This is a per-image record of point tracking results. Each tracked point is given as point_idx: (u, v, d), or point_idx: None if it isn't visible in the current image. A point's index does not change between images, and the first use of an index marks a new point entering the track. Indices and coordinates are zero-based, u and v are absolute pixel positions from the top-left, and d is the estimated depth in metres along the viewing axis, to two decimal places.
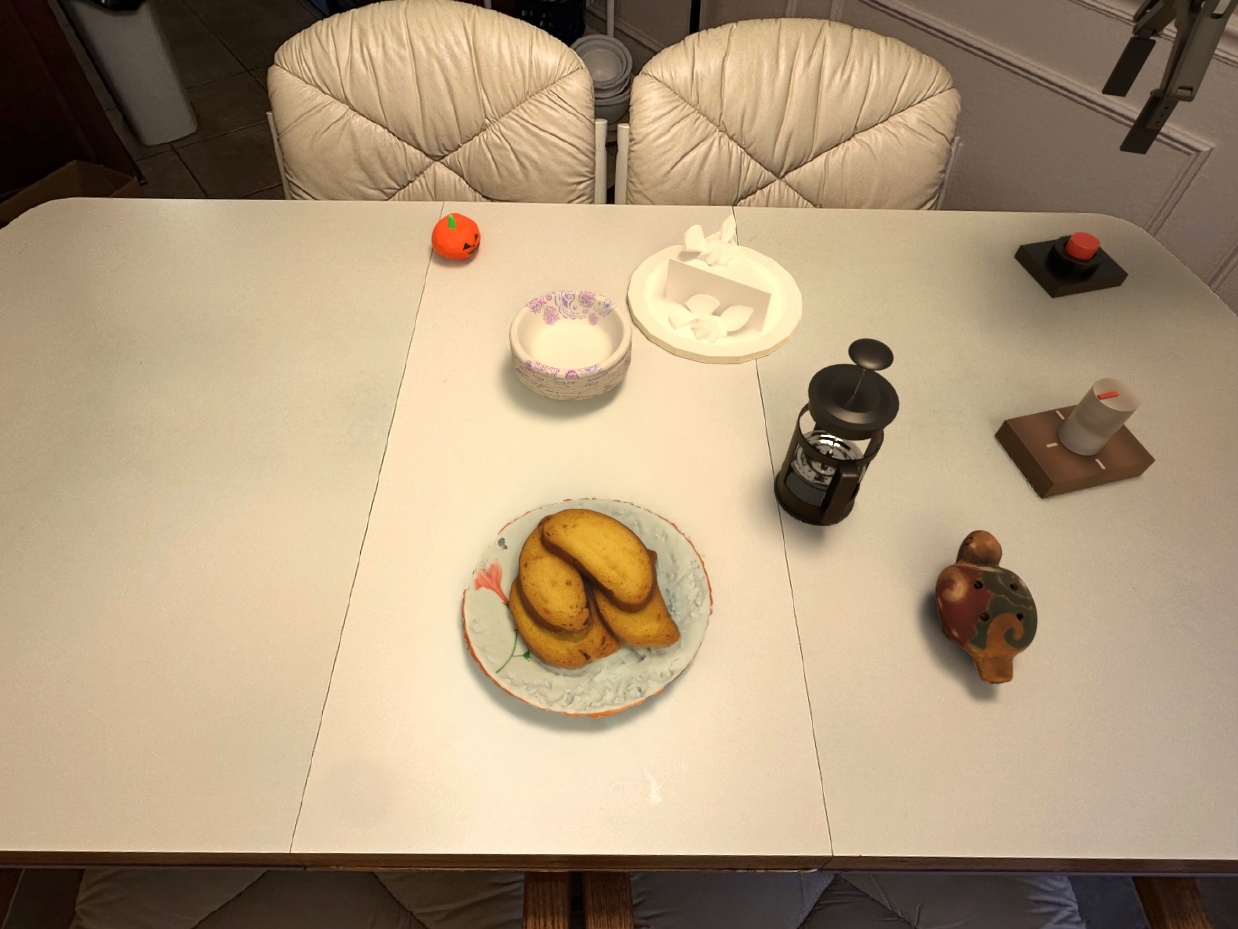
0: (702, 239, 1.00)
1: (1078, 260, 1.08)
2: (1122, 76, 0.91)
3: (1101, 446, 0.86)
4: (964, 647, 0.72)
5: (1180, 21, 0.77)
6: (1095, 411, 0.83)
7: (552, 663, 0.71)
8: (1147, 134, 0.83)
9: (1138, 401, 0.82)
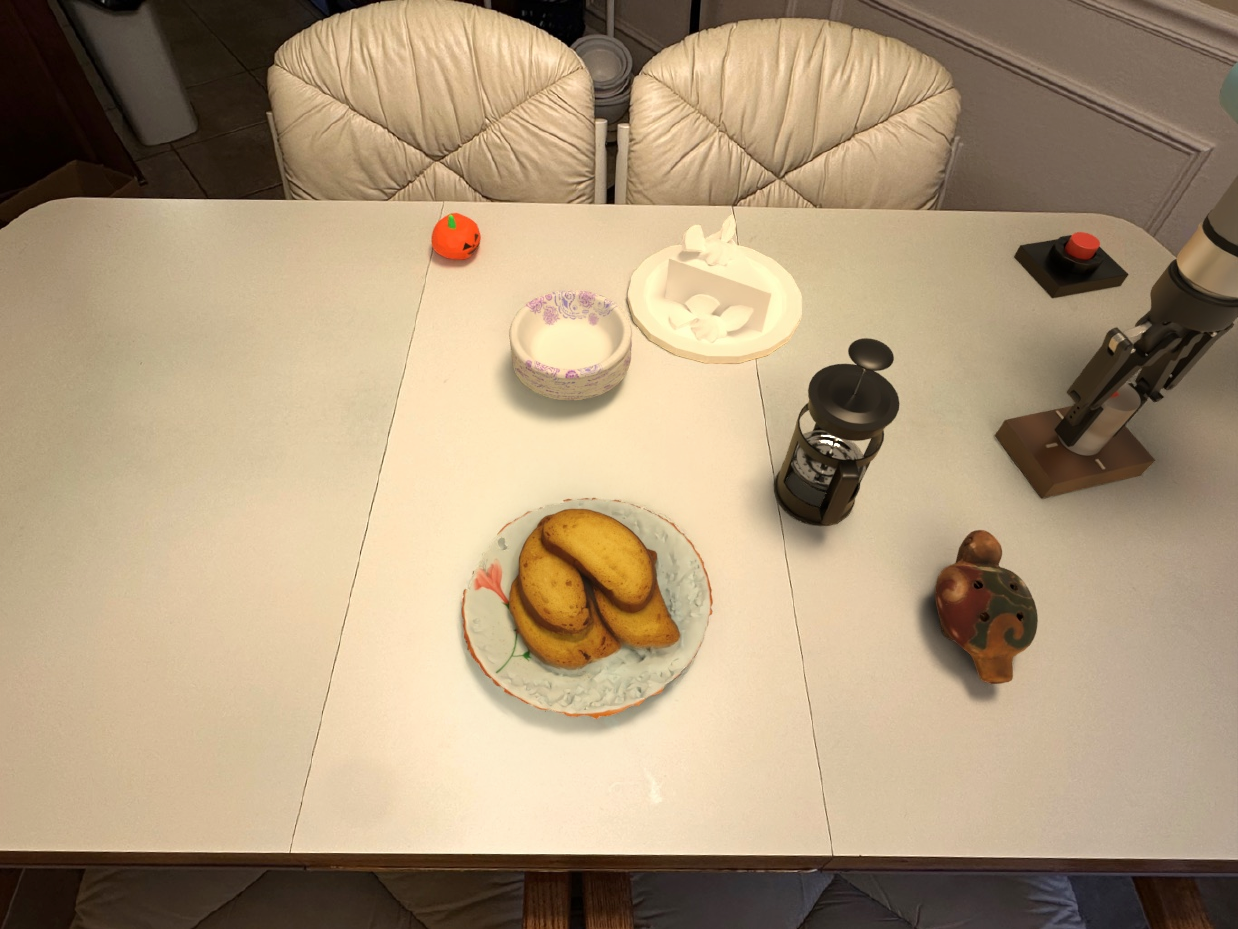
0: (702, 239, 1.00)
1: (1078, 260, 1.08)
2: None
3: (1101, 446, 0.86)
4: (964, 647, 0.72)
5: None
6: None
7: (552, 663, 0.71)
8: (1072, 428, 0.86)
9: (1138, 401, 0.82)
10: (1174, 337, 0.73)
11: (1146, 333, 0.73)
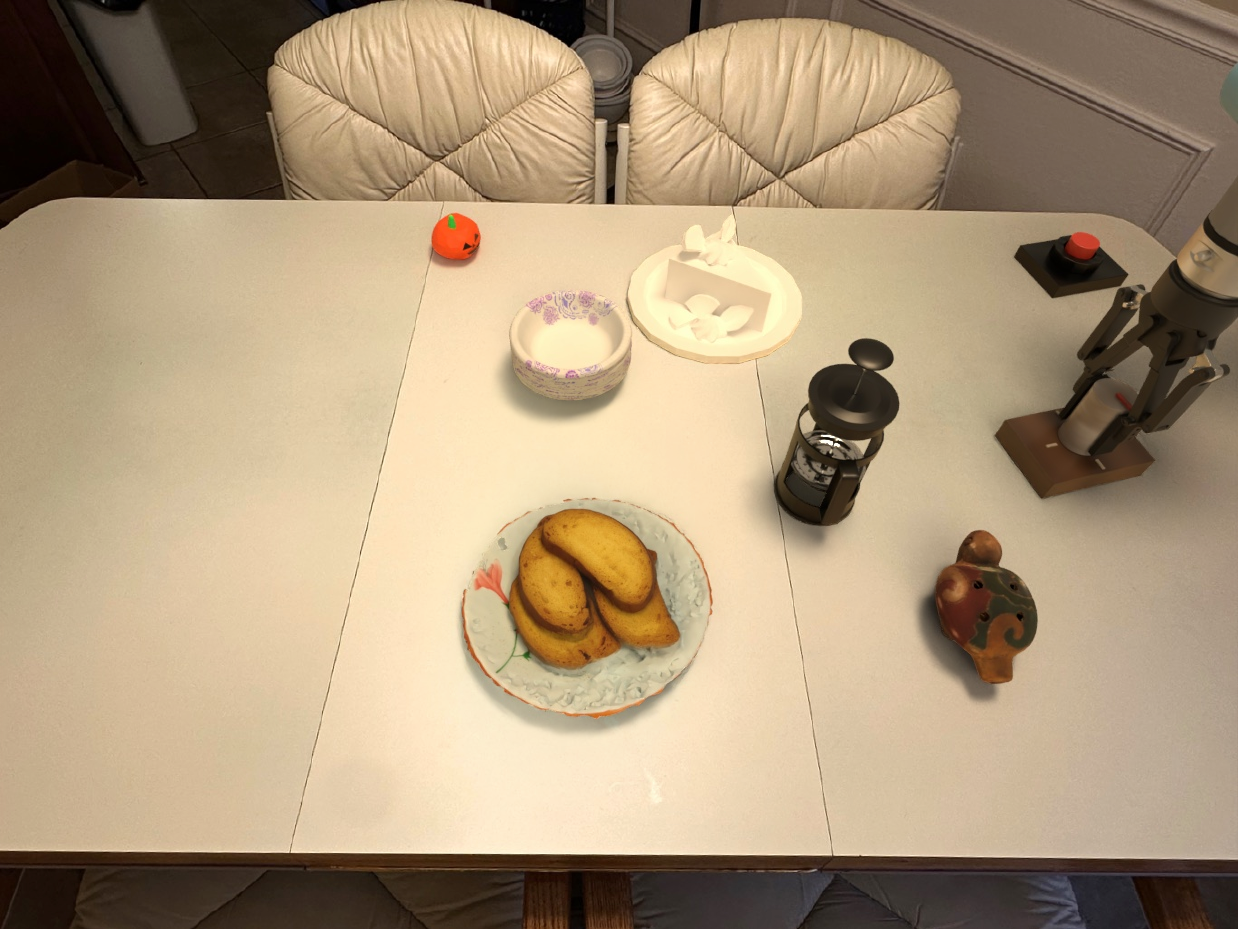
0: (702, 239, 1.00)
1: (1078, 260, 1.08)
2: None
3: None
4: (964, 647, 0.72)
5: (1157, 371, 0.76)
6: None
7: (552, 663, 0.71)
8: (1114, 441, 0.85)
9: (1118, 381, 0.84)
10: None
11: (1212, 349, 0.72)
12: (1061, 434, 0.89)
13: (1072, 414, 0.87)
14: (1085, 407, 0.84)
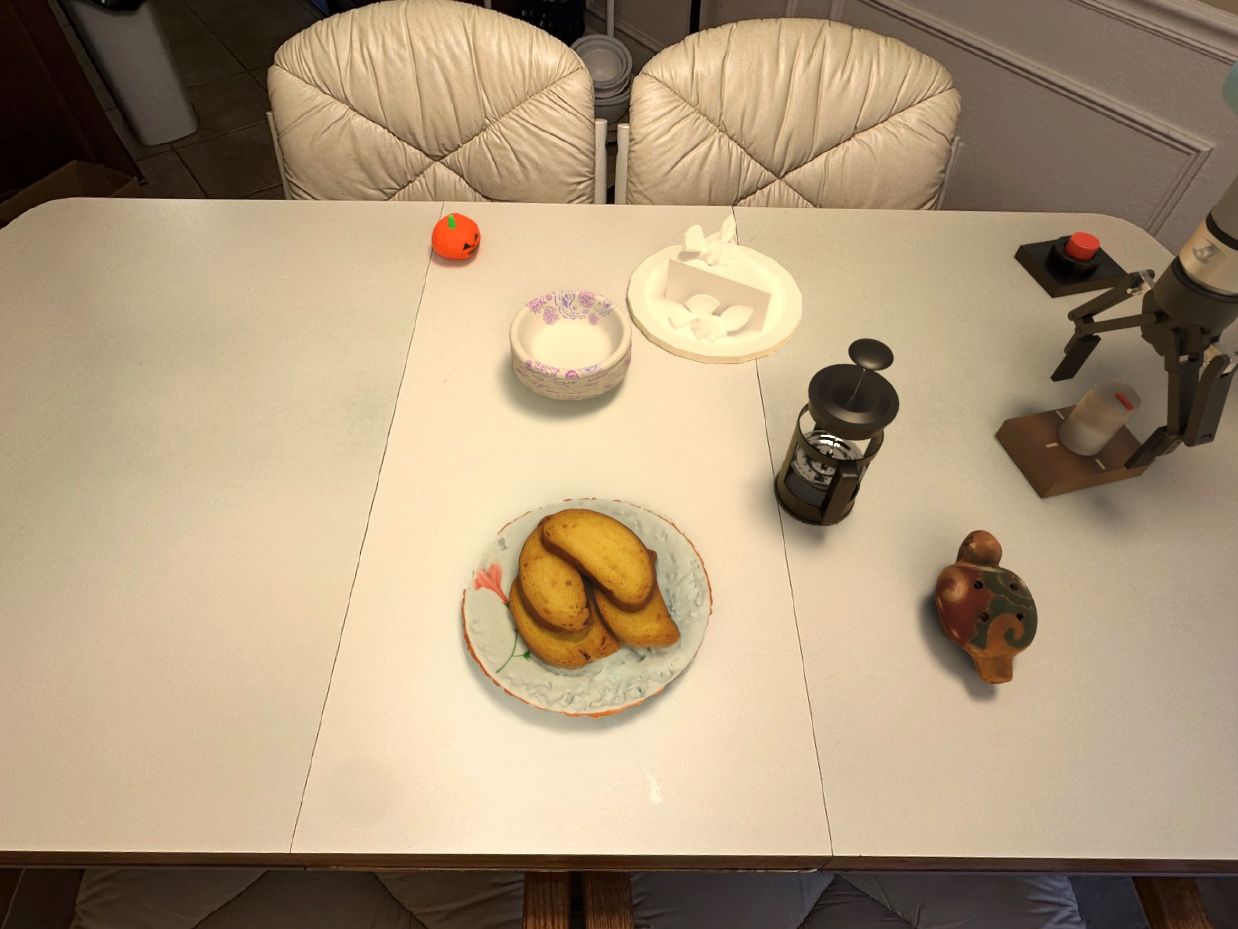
0: (702, 239, 1.00)
1: (1078, 260, 1.08)
2: (1071, 367, 0.88)
3: None
4: (964, 647, 0.72)
5: (1175, 370, 0.74)
6: (1128, 417, 0.83)
7: (552, 663, 0.71)
8: (1152, 454, 0.80)
9: (1118, 381, 0.84)
10: None
11: (1218, 341, 0.71)
12: (1061, 434, 0.89)
13: (1072, 414, 0.87)
14: (1085, 407, 0.84)
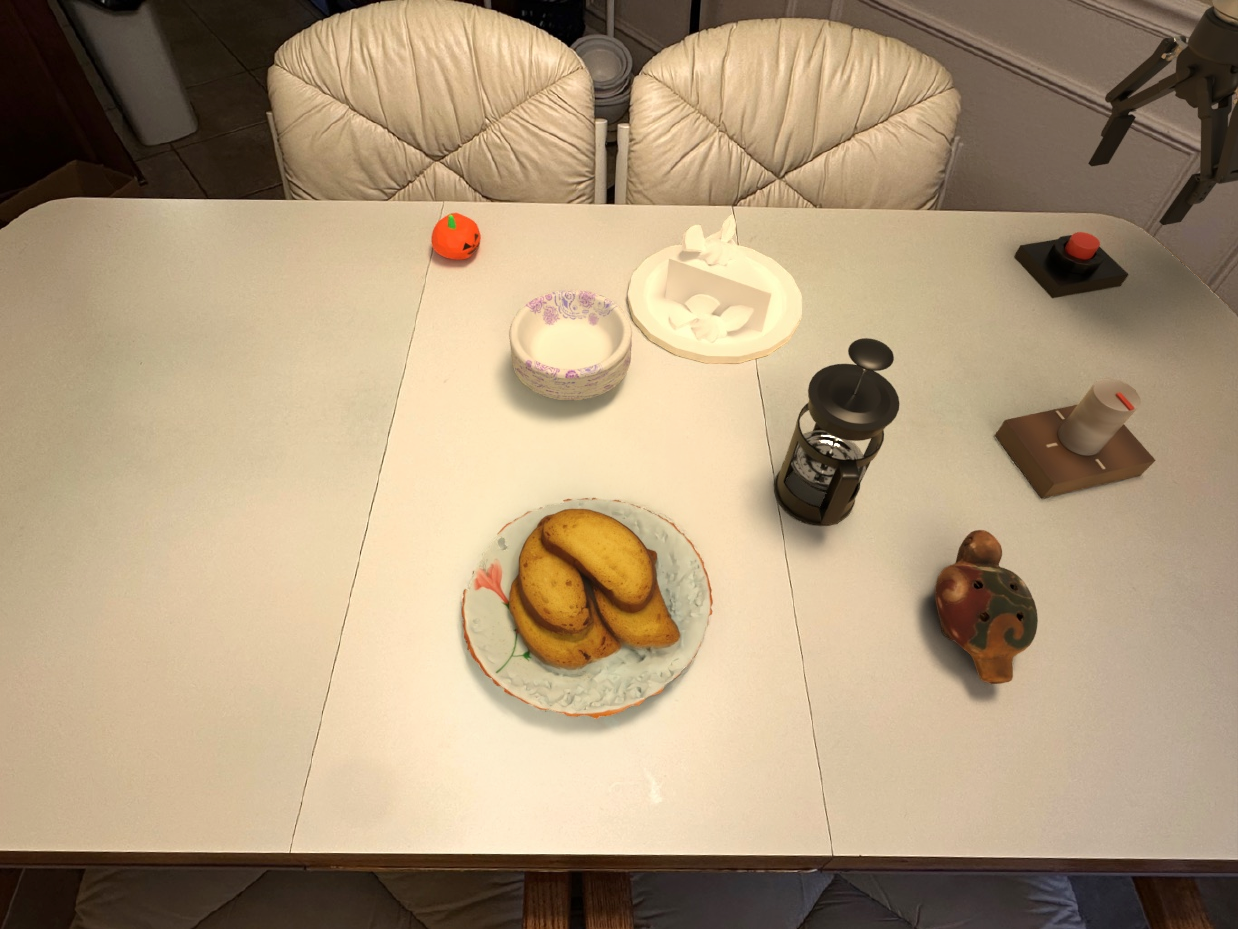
0: (702, 239, 1.00)
1: (1078, 260, 1.08)
2: (1108, 149, 0.99)
3: None
4: (964, 647, 0.72)
5: (1207, 114, 0.84)
6: (1128, 417, 0.83)
7: (552, 663, 0.71)
8: (1185, 207, 0.91)
9: (1118, 381, 0.84)
10: None
11: None
12: (1061, 434, 0.89)
13: (1072, 414, 0.87)
14: (1085, 407, 0.84)
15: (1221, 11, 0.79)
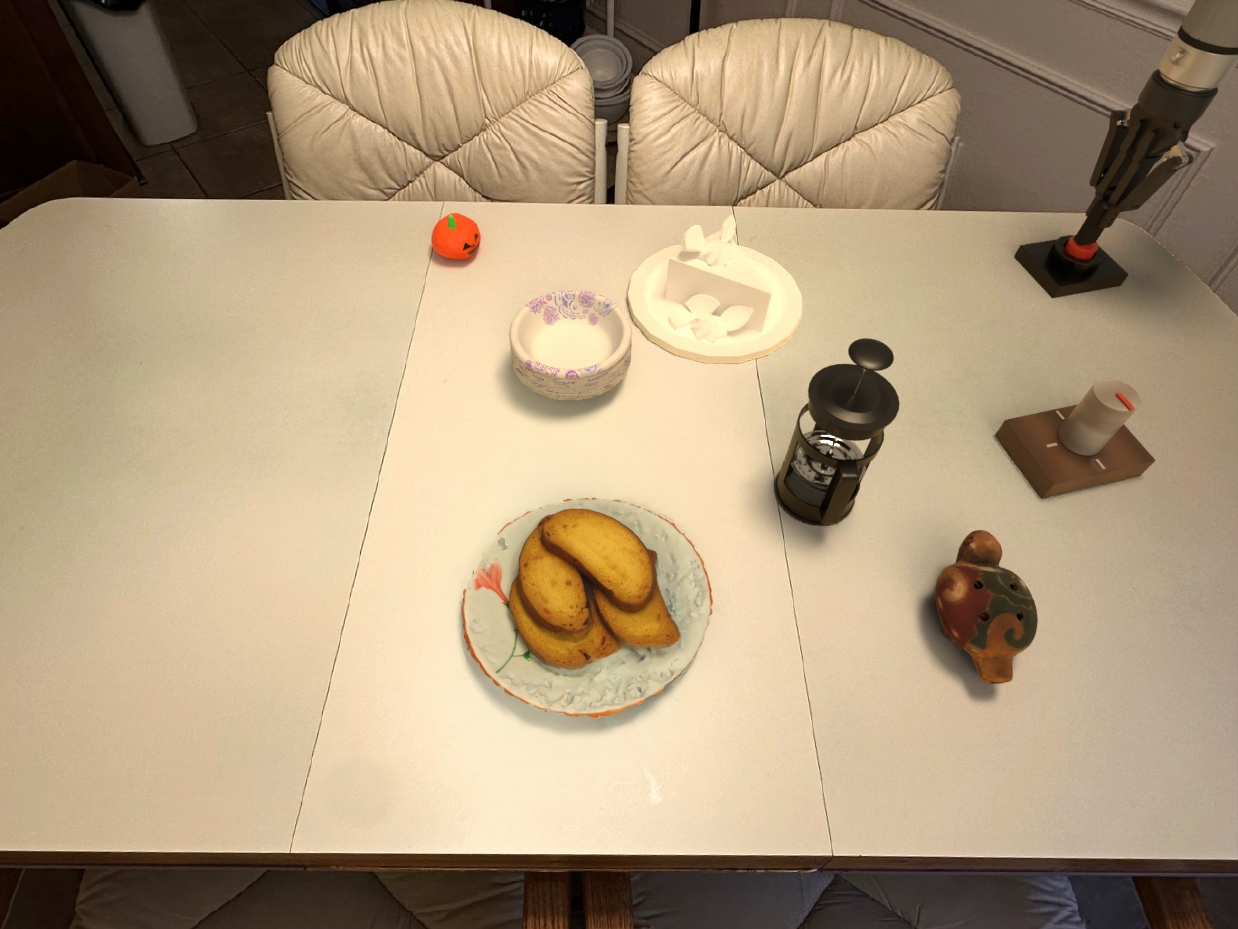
0: (702, 239, 1.00)
1: (1078, 260, 1.08)
2: None
3: None
4: (964, 647, 0.72)
5: (1138, 162, 0.97)
6: (1128, 417, 0.83)
7: (552, 663, 0.71)
8: (1097, 230, 1.07)
9: (1118, 381, 0.84)
10: None
11: (1184, 142, 0.93)
12: (1061, 434, 0.89)
13: (1072, 414, 0.87)
14: (1085, 407, 0.84)
15: (1164, 74, 0.89)
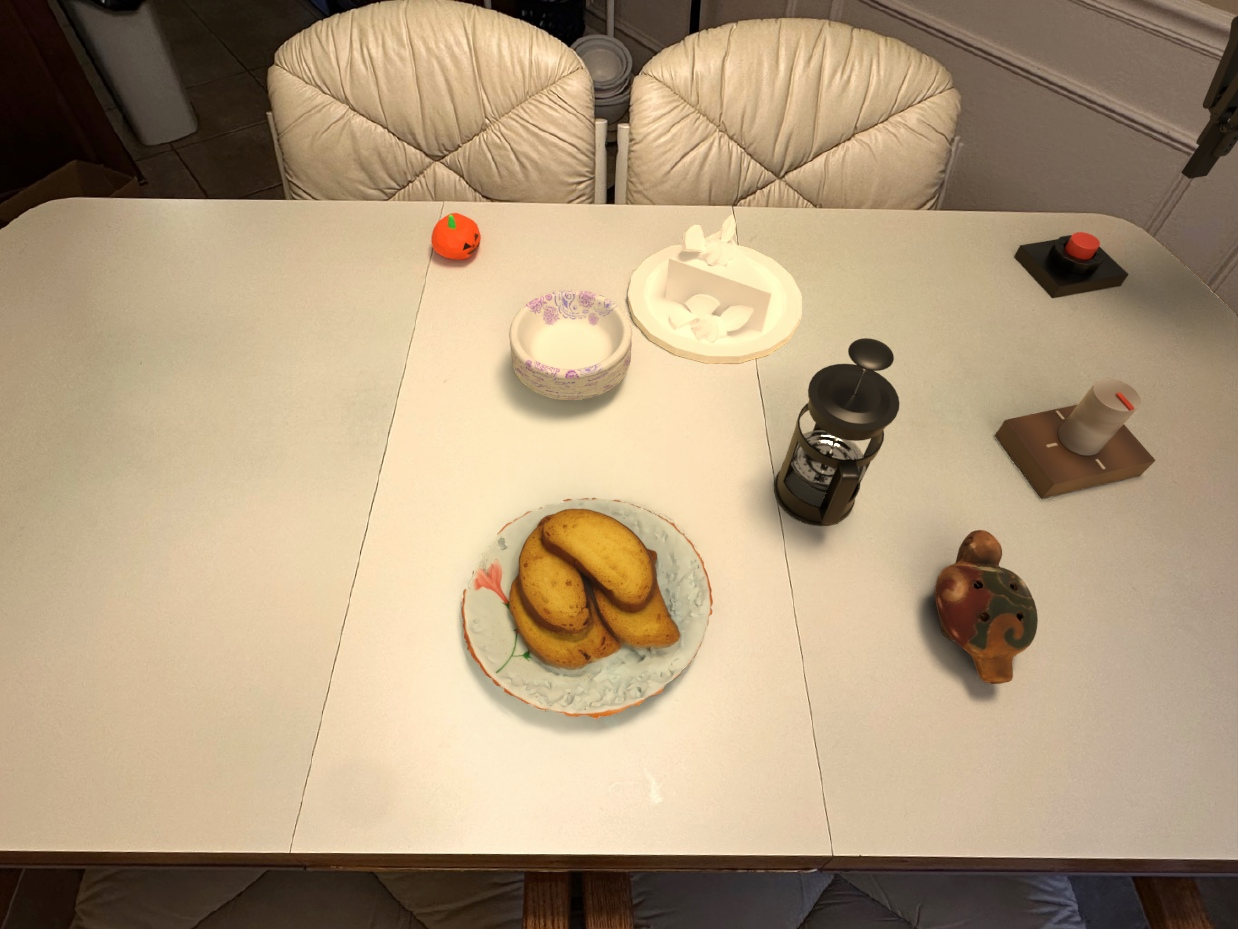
0: (702, 239, 1.00)
1: (1078, 260, 1.08)
2: None
3: None
4: (964, 647, 0.72)
5: None
6: (1128, 417, 0.83)
7: (552, 663, 0.71)
8: (1211, 160, 0.94)
9: (1118, 381, 0.84)
10: None
11: None
12: (1061, 434, 0.89)
13: (1072, 414, 0.87)
14: (1085, 407, 0.84)
15: None
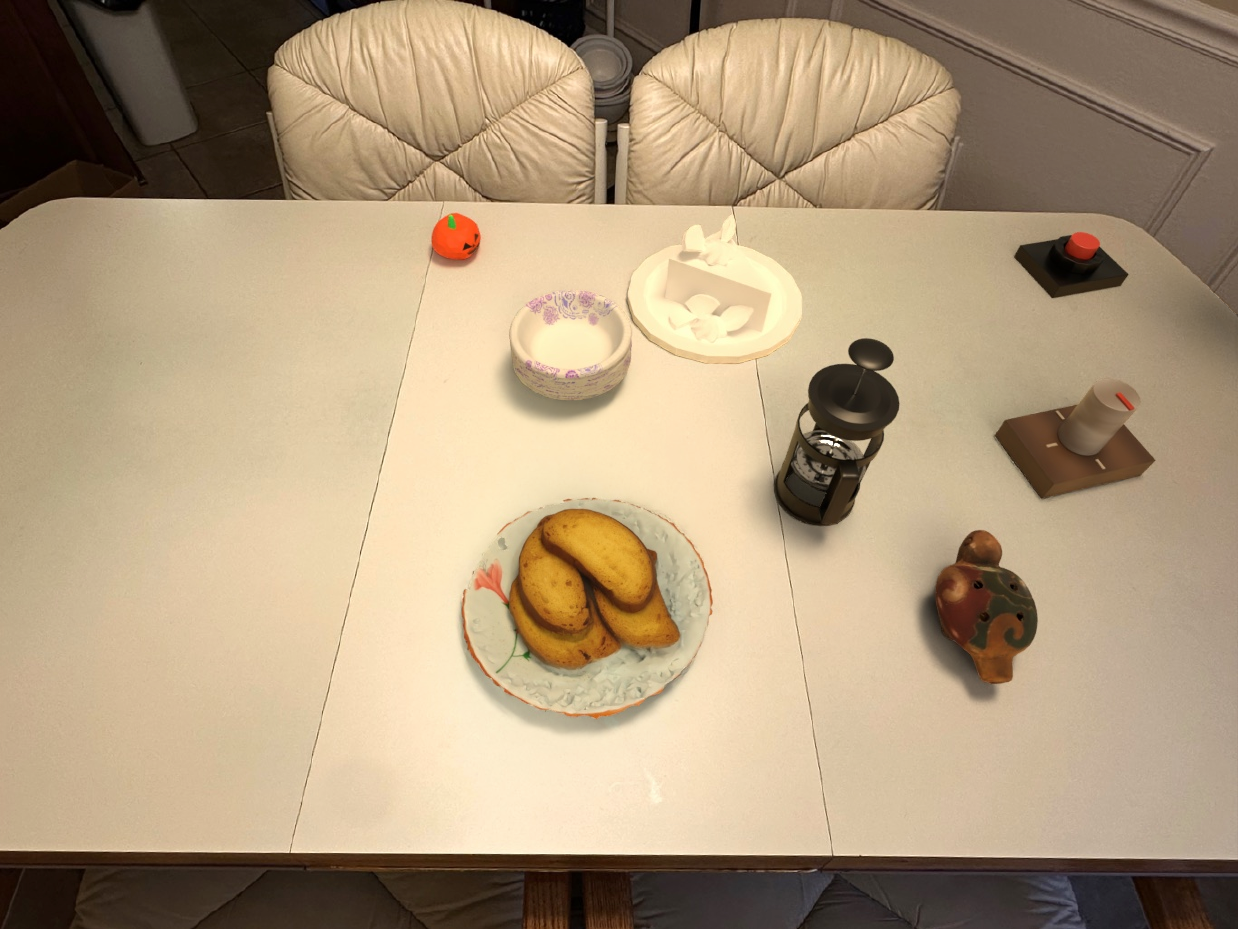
0: (702, 239, 1.00)
1: (1078, 260, 1.08)
2: None
3: None
4: (964, 647, 0.72)
5: None
6: (1128, 417, 0.83)
7: (552, 663, 0.71)
8: None
9: (1118, 381, 0.84)
10: None
11: None
12: (1061, 434, 0.89)
13: (1072, 414, 0.87)
14: (1085, 407, 0.84)
15: None
